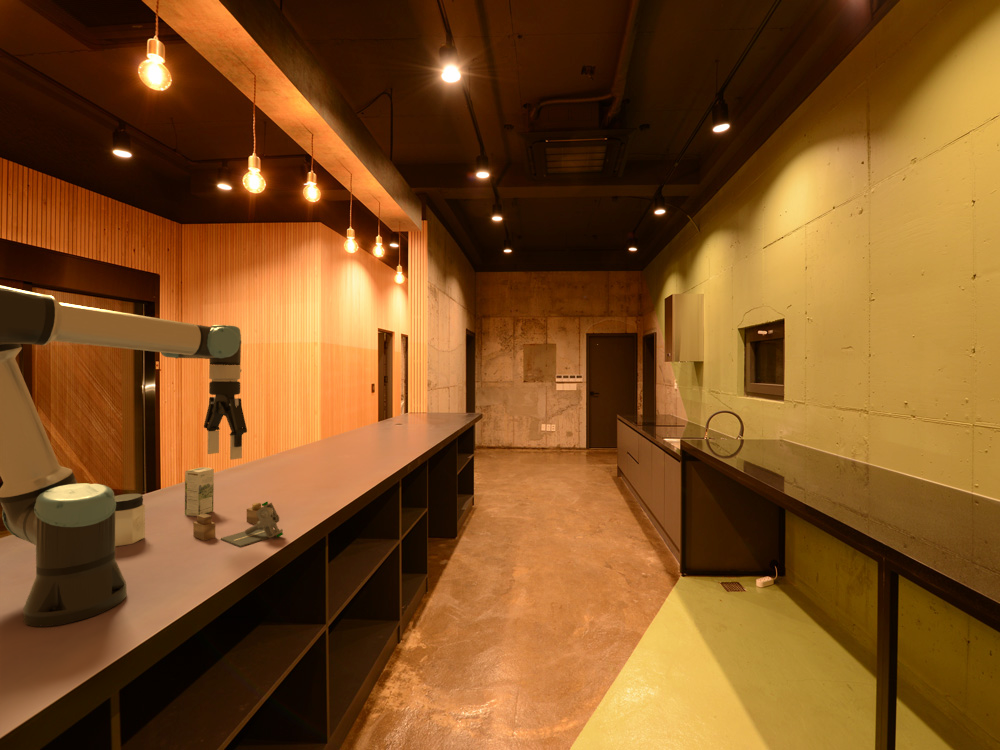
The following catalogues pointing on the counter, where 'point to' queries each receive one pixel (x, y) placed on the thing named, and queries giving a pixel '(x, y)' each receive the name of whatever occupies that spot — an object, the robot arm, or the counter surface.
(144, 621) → the counter surface
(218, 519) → the counter surface
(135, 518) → the jar
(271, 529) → the mechanical component
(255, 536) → the mat
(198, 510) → the syrup box
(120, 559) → the counter surface
